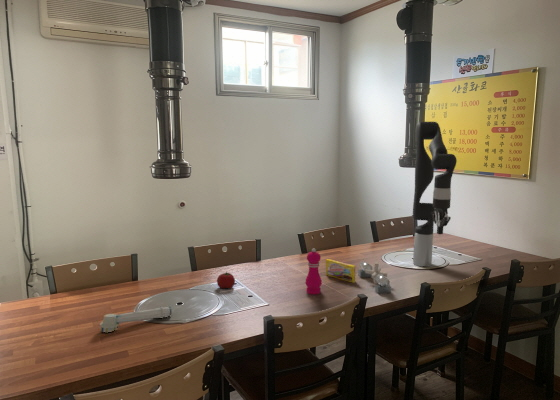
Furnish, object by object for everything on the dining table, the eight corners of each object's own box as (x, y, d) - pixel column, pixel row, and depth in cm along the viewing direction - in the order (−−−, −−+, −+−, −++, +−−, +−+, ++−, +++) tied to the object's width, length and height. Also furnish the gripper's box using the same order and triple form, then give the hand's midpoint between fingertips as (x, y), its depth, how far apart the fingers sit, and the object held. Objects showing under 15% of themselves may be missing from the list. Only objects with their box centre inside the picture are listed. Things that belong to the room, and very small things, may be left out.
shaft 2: (373, 289, 183) (373, 274, 182) (385, 288, 184) (386, 273, 183) (378, 294, 177) (378, 279, 176) (391, 293, 178) (391, 278, 177)
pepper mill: (310, 296, 176) (311, 251, 173) (302, 290, 182) (302, 247, 179) (324, 293, 179) (325, 249, 176) (316, 287, 185) (316, 245, 182)
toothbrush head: (172, 308, 155) (102, 316, 142) (171, 325, 156) (101, 334, 142) (168, 304, 160) (100, 310, 146) (167, 320, 160) (98, 328, 147)
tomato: (228, 283, 192) (227, 268, 191) (238, 287, 187) (238, 272, 185) (214, 287, 187) (213, 272, 186) (224, 292, 181) (224, 277, 180)
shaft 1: (357, 275, 201) (358, 261, 200) (369, 274, 202) (369, 260, 201) (362, 279, 195) (362, 265, 194) (374, 278, 196) (374, 264, 195)
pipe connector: (383, 289, 183) (384, 268, 181) (362, 285, 188) (362, 264, 186) (389, 281, 192) (390, 261, 190) (368, 277, 197) (369, 257, 195)
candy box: (325, 275, 202) (325, 259, 200) (327, 274, 203) (328, 258, 202) (353, 283, 191) (353, 266, 190) (355, 282, 192) (355, 265, 191)
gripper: (457, 199, 180) (455, 237, 183) (441, 194, 193) (439, 230, 196) (442, 200, 179) (439, 238, 182) (426, 195, 192) (425, 231, 195)
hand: (439, 233), depth 189 cm, fingers closed
